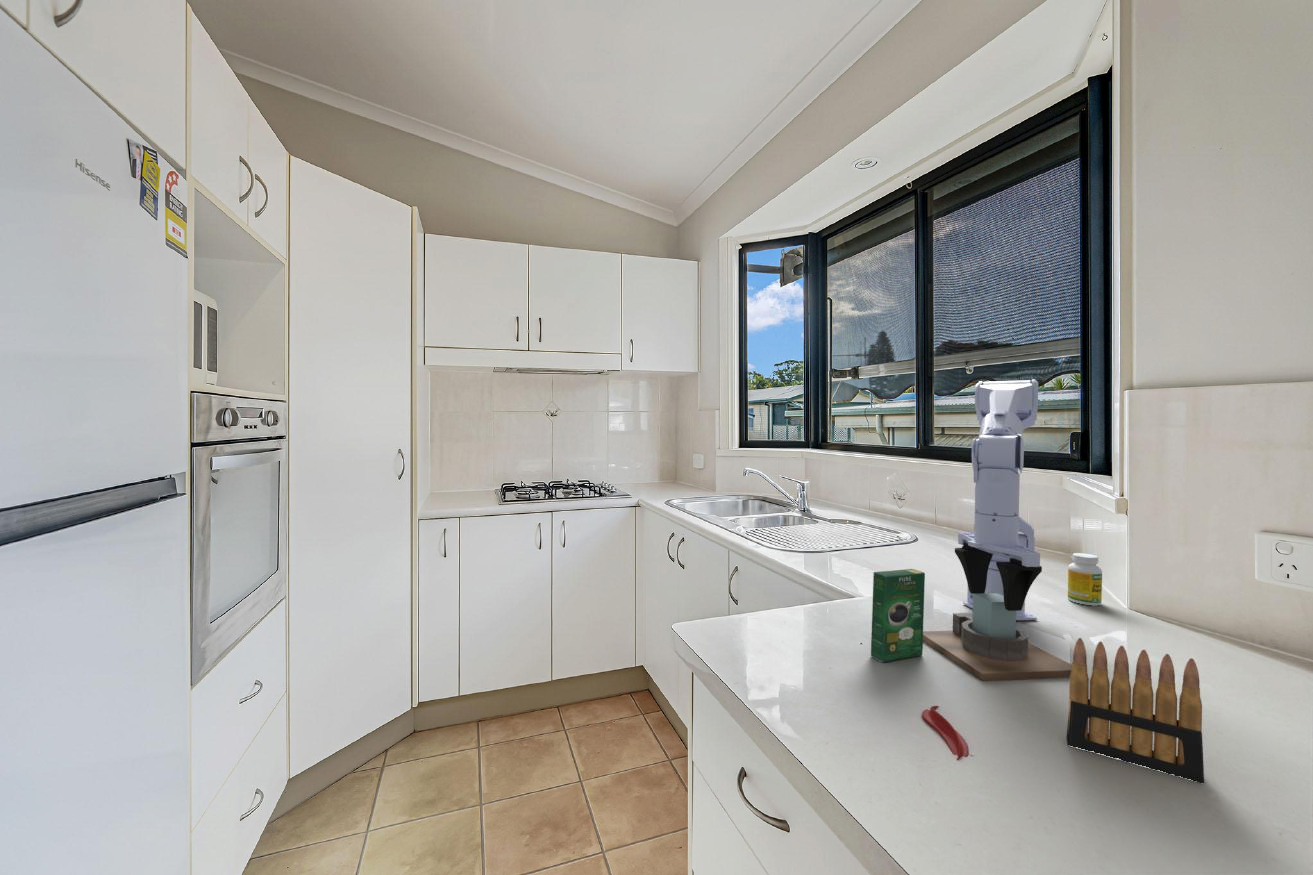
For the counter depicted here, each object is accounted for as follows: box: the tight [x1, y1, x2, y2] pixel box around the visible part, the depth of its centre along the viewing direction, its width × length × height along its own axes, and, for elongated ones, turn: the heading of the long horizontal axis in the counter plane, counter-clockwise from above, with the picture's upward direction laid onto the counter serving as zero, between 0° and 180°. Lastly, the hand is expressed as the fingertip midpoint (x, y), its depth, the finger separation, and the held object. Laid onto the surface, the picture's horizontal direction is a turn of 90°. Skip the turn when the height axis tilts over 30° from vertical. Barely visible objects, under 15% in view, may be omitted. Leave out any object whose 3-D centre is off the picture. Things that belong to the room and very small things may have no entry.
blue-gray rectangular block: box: [972, 593, 1017, 639], centre depth 81 cm, size 4×4×8 cm
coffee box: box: [870, 568, 926, 663], centre depth 80 cm, size 8×3×13 cm, turn 110°
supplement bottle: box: [1067, 552, 1103, 607], centre depth 106 cm, size 5×5×10 cm
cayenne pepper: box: [921, 705, 969, 761], centre depth 61 cm, size 12×5×2 cm, turn 153°
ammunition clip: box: [1066, 637, 1205, 784], centre depth 56 cm, size 11×2×12 cm, turn 55°
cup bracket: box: [923, 612, 1072, 682], centre depth 81 cm, size 15×15×4 cm
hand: (994, 601), depth 81 cm, fingers open, 7 cm apart
